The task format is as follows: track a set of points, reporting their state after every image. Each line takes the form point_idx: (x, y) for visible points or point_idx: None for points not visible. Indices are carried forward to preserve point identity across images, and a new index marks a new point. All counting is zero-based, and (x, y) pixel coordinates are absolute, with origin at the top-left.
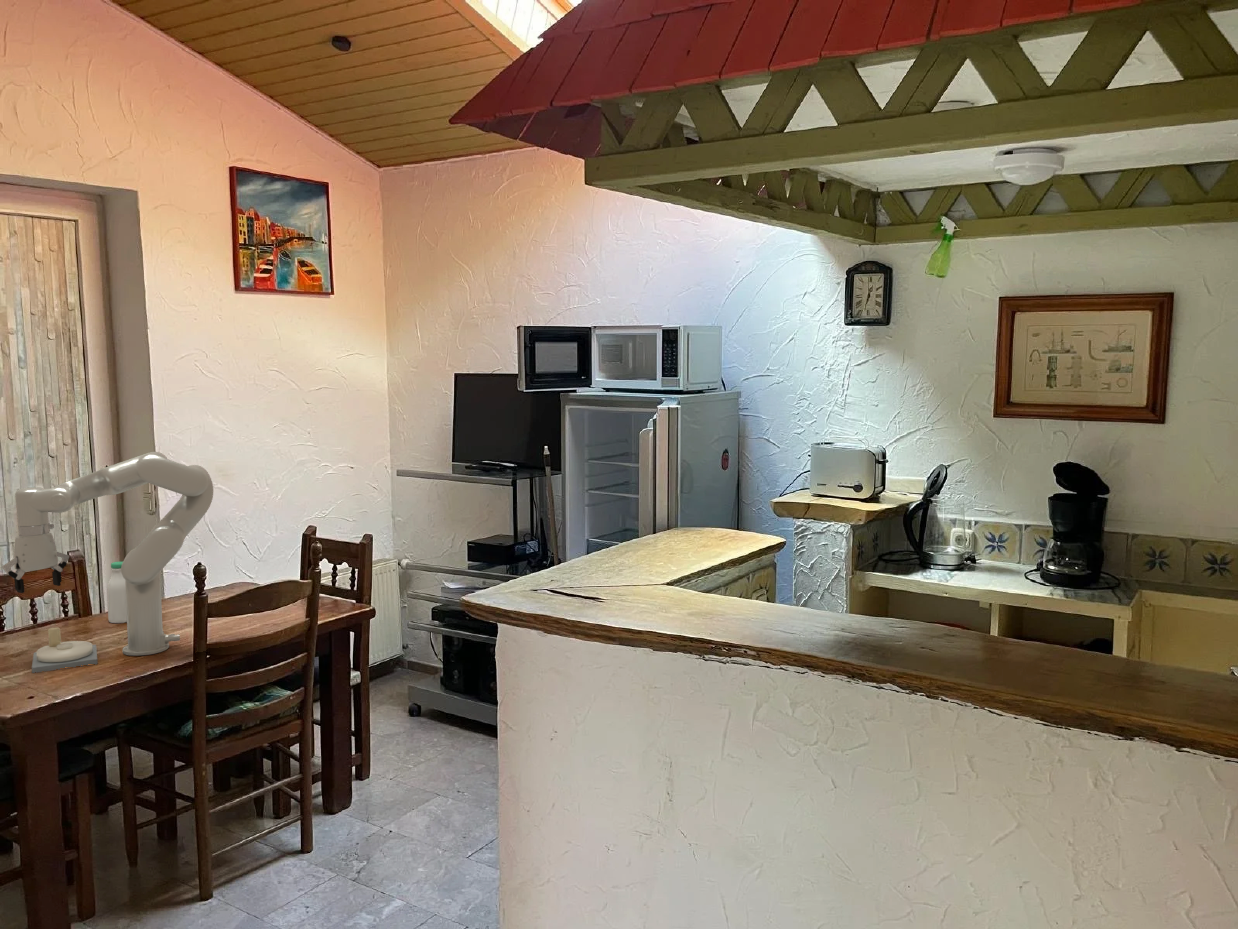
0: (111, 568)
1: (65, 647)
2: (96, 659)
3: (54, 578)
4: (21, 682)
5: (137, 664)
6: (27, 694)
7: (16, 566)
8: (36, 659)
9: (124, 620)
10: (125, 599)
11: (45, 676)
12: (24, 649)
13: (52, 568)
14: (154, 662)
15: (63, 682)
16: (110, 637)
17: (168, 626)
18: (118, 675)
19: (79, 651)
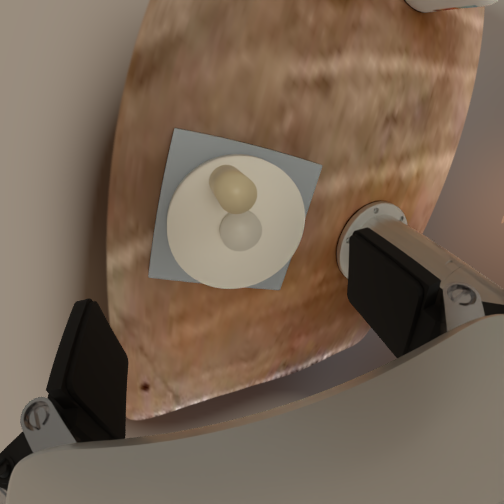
0: None
1: (238, 249)
2: (277, 289)
3: (378, 290)
4: (127, 317)
5: (321, 319)
6: (139, 375)
7: (17, 491)
8: (166, 209)
9: (418, 9)
10: (457, 5)
11: (171, 306)
12: (176, 25)
13: (443, 327)
14: (341, 321)
15: (195, 353)
16: (370, 83)
17: (451, 108)
18: (275, 357)
19: (258, 281)
